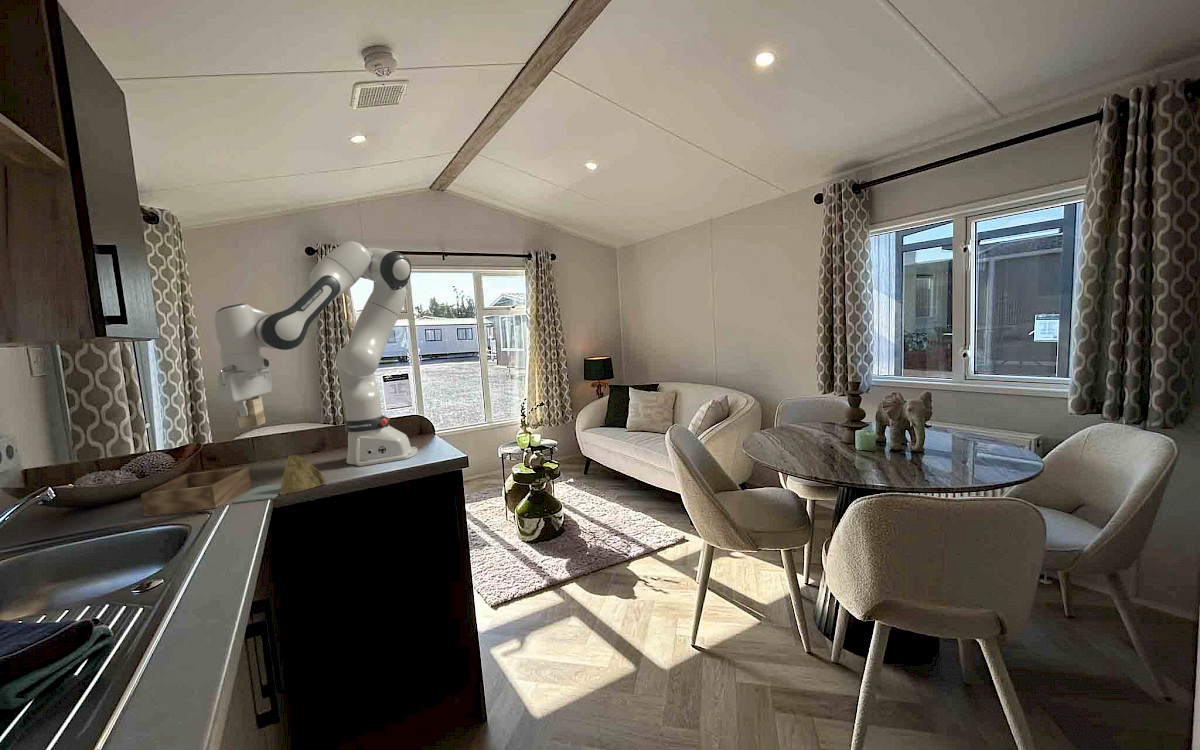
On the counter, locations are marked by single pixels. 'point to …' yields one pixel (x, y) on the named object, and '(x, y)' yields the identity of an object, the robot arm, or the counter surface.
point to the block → (252, 413)
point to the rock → (300, 476)
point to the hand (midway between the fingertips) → (251, 414)
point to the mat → (260, 493)
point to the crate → (196, 491)
